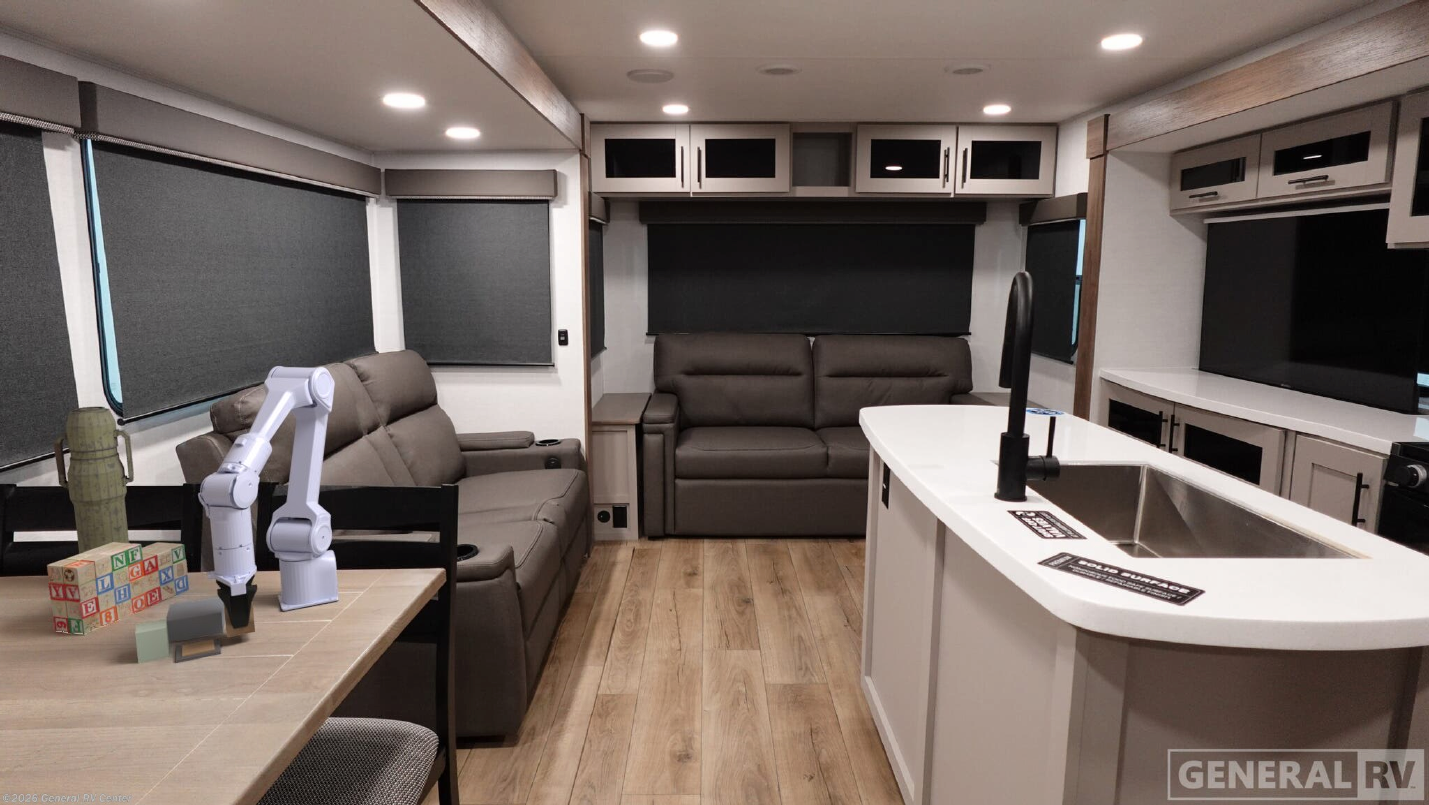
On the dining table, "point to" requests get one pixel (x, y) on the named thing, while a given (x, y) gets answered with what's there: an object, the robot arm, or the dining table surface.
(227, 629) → the walnut block
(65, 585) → the stack of blocks
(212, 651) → the card
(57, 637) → the dining table surface
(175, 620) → the slate base block
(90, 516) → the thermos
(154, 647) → the sage green block
